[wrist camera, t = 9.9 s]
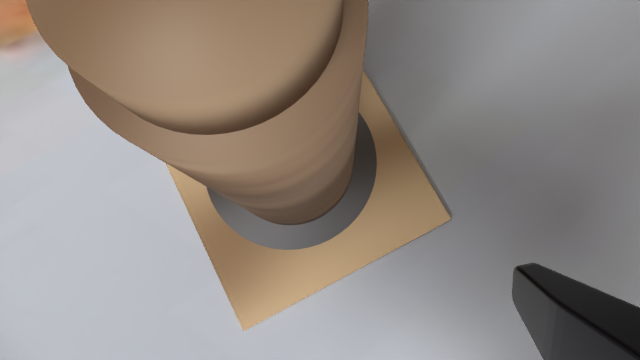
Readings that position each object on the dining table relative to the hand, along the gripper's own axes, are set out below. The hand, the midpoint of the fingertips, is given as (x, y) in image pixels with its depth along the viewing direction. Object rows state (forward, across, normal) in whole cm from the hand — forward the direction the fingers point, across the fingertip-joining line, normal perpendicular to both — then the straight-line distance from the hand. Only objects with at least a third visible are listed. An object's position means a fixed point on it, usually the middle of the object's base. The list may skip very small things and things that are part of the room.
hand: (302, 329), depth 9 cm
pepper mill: (+10, 0, -2) cm, 10 cm away
